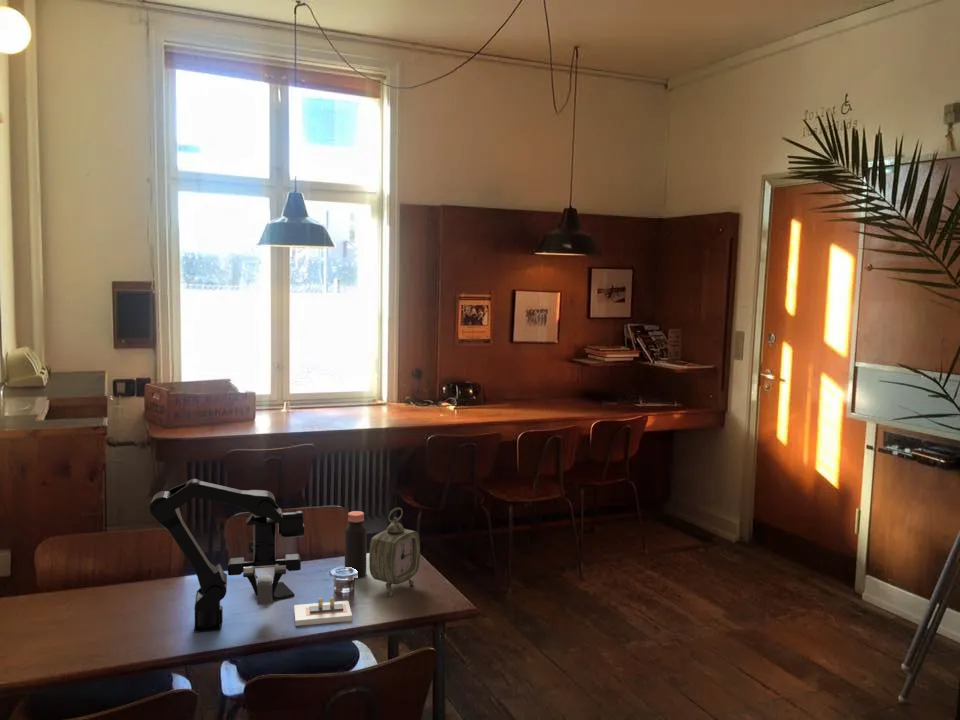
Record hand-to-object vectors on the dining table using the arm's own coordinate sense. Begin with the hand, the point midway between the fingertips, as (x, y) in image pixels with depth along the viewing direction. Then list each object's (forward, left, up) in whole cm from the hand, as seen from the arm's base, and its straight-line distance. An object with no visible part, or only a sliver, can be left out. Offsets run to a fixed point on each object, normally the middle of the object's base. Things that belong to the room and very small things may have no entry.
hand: (264, 594), depth 209 cm
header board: (+15, 0, -7) cm, 17 cm away
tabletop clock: (+37, +14, -7) cm, 41 cm away
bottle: (+27, +27, -7) cm, 39 cm away
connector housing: (0, 0, -1) cm, 1 cm away
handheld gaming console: (+2, +18, -8) cm, 20 cm away
